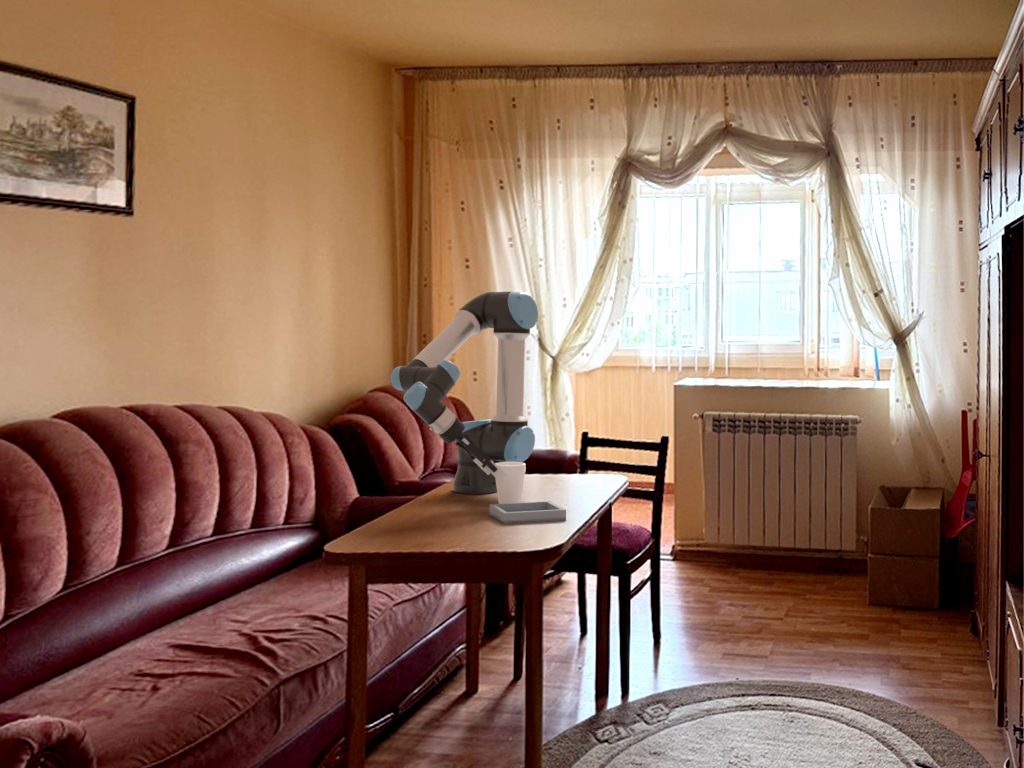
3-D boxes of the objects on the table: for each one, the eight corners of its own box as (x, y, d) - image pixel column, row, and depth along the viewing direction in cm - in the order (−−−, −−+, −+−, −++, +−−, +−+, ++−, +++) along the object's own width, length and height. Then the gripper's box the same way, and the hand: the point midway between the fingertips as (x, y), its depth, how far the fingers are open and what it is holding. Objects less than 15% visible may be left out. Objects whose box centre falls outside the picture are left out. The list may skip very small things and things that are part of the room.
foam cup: (522, 510, 335) (521, 466, 334) (491, 509, 337) (491, 465, 336) (528, 504, 344) (527, 462, 343) (498, 503, 346) (497, 461, 345)
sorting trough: (489, 514, 328) (489, 504, 328) (549, 511, 333) (549, 501, 333) (504, 524, 313) (504, 513, 313) (566, 520, 318) (566, 509, 318)
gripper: (429, 430, 344) (477, 478, 349) (447, 439, 320) (499, 490, 325) (446, 413, 345) (494, 460, 350) (465, 420, 321) (516, 471, 326)
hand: (496, 475), depth 338 cm, fingers open, 13 cm apart
